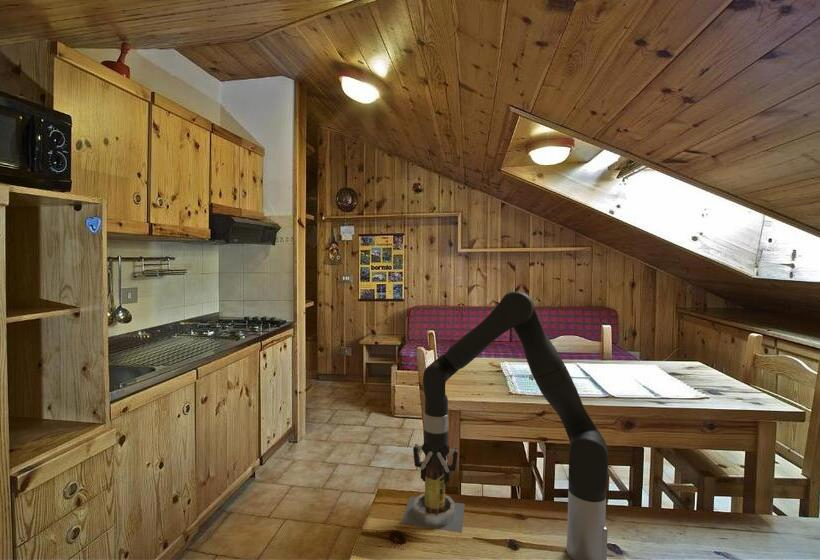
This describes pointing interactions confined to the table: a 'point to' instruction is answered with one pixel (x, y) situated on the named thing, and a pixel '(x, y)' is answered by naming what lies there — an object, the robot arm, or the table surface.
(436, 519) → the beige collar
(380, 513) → the table surface
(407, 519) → the charcoal base
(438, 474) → the sauce bottle
